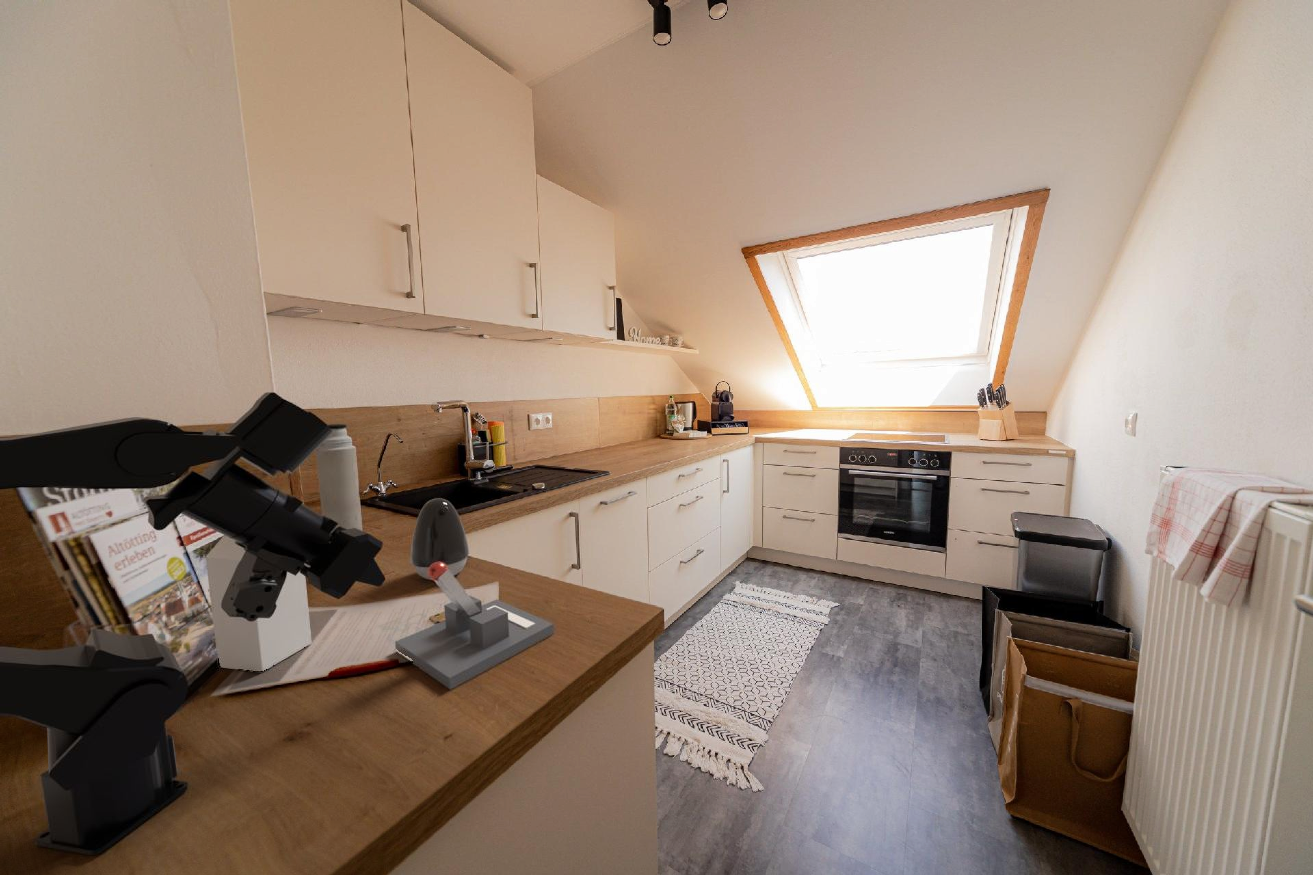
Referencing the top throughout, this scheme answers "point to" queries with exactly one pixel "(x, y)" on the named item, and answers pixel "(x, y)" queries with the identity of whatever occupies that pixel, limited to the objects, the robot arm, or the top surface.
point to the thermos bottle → (339, 479)
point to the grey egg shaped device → (439, 538)
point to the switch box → (473, 641)
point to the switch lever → (453, 590)
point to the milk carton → (264, 636)
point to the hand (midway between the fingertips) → (381, 582)
